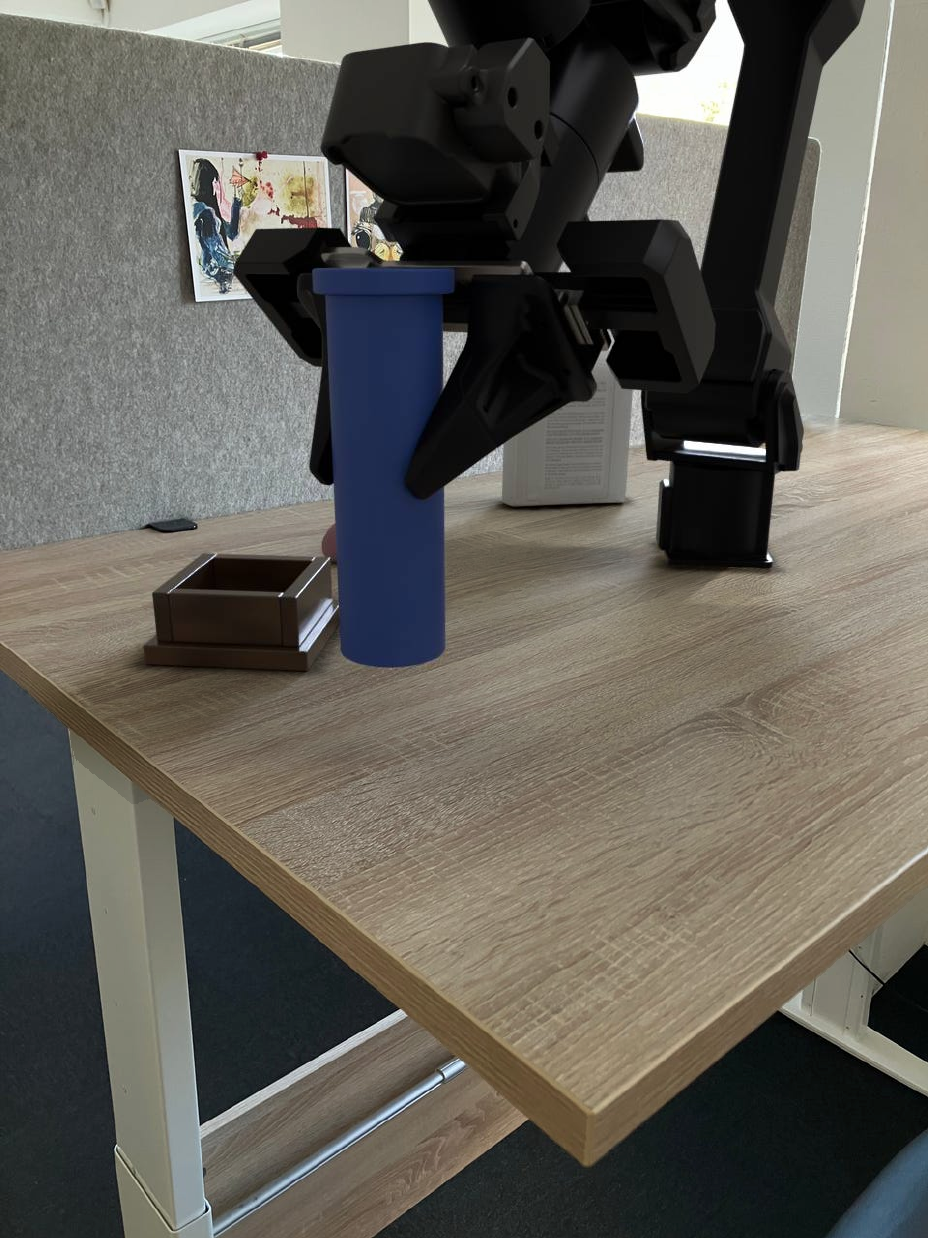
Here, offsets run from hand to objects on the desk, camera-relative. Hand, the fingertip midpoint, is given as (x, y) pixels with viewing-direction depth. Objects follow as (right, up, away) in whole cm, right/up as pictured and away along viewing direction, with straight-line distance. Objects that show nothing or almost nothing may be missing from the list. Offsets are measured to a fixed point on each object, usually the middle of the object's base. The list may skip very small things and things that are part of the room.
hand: (364, 485), depth 36 cm
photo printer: (+12, +5, +46) cm, 48 cm away
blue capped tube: (+1, -6, +3) cm, 7 cm away
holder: (-7, -6, +16) cm, 19 cm away
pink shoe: (-2, 0, +34) cm, 34 cm away
